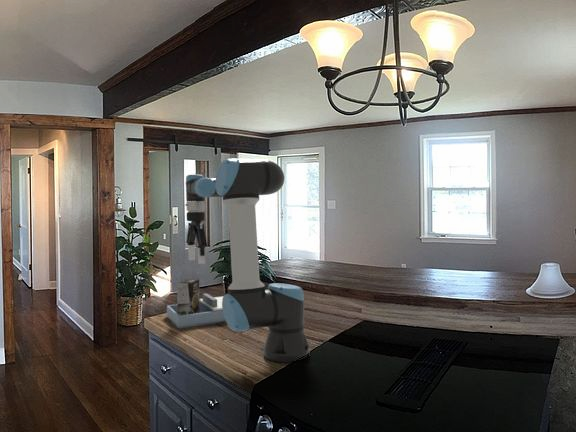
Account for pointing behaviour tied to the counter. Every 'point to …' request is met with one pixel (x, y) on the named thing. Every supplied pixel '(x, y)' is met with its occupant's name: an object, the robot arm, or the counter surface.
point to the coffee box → (188, 297)
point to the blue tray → (195, 317)
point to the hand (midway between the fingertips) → (196, 261)
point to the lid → (212, 302)
